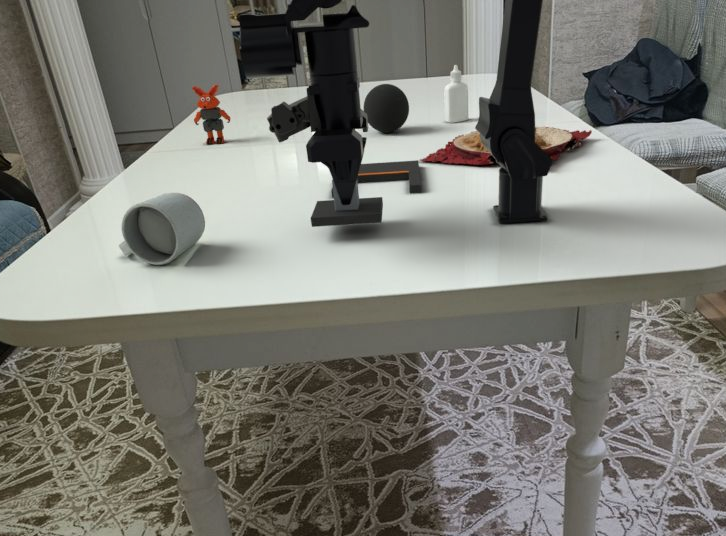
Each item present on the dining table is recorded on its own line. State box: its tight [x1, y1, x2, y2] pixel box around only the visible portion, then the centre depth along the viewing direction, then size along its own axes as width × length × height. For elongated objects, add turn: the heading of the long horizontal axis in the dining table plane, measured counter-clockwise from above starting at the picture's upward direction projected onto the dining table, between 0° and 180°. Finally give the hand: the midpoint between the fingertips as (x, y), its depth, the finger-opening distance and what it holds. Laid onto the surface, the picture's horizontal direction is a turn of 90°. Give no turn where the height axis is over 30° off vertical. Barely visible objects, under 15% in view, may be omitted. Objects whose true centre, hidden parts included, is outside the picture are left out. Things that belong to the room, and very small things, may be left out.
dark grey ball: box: [363, 83, 410, 134], centre depth 139 cm, size 10×10×10 cm
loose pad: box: [310, 179, 384, 228], centre depth 83 cm, size 7×9×5 cm
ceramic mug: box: [118, 192, 206, 266], centre depth 80 cm, size 11×8×8 cm
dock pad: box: [331, 159, 422, 199], centre depth 106 cm, size 16×14×1 cm
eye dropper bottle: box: [443, 64, 469, 124], centre depth 145 cm, size 4×6×12 cm
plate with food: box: [420, 126, 593, 166], centre depth 119 cm, size 24×26×4 cm
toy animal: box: [191, 83, 231, 146], centre depth 140 cm, size 8×6×12 cm
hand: (347, 200), depth 84 cm, fingers closed on loose pad, 3 cm apart
